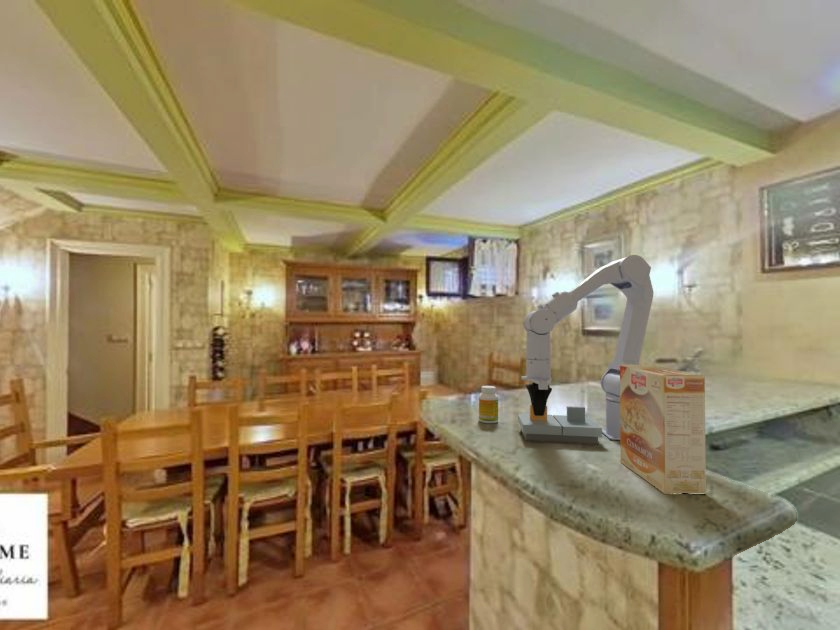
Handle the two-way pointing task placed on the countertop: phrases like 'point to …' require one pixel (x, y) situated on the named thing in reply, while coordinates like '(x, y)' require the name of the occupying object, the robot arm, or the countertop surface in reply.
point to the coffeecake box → (663, 427)
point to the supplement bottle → (488, 405)
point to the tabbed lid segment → (539, 423)
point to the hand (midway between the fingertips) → (538, 414)
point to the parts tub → (560, 438)
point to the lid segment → (578, 423)
